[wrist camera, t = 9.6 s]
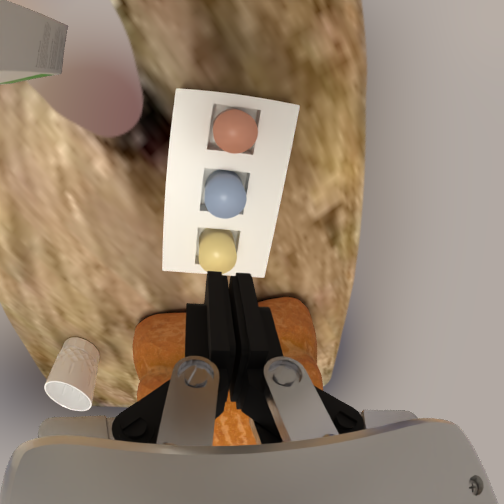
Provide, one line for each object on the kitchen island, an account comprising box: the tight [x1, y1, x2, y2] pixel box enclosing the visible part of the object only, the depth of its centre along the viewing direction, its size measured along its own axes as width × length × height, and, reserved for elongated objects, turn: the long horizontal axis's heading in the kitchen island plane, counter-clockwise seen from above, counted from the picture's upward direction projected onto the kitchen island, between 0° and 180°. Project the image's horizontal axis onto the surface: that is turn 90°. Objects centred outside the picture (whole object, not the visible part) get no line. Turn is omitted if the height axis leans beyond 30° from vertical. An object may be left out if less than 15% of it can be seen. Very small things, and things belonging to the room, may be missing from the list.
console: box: [162, 88, 300, 278], centre depth 32 cm, size 20×12×4 cm, turn 171°
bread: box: [133, 297, 323, 446], centre depth 39 cm, size 16×26×17 cm, turn 95°
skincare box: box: [0, 0, 68, 84], centre depth 16 cm, size 8×7×16 cm
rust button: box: [213, 109, 258, 154], centre depth 28 cm, size 4×4×4 cm
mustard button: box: [199, 228, 237, 274], centre depth 34 cm, size 4×4×4 cm
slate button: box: [205, 169, 247, 219], centre depth 31 cm, size 4×4×4 cm
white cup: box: [44, 337, 100, 411], centre depth 40 cm, size 8×8×10 cm
